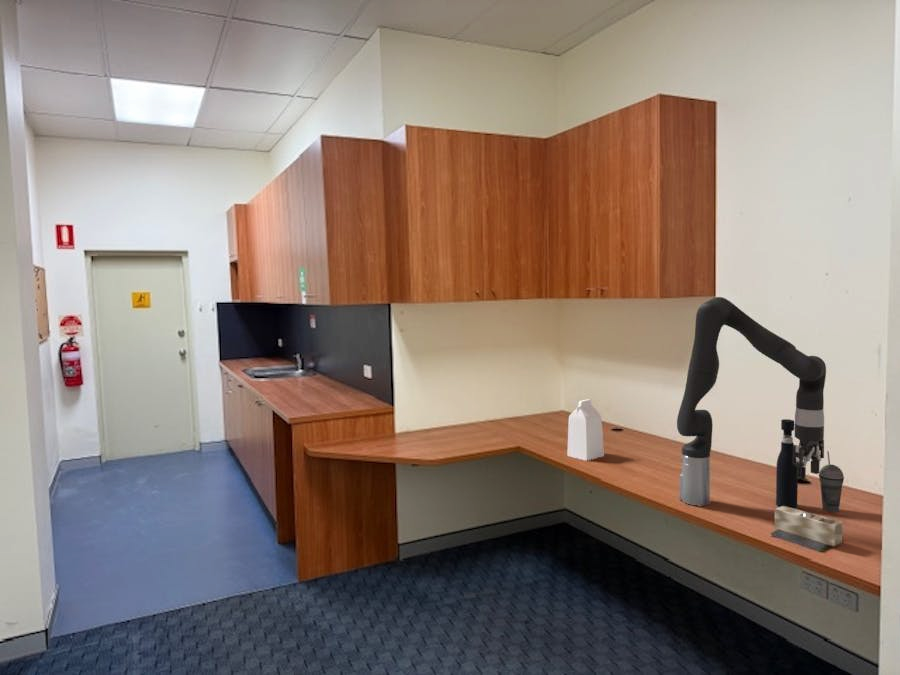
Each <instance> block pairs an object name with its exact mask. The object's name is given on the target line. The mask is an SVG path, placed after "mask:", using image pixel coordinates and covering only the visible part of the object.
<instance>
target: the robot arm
mask: <svg viewBox="0 0 900 675" xmlns="http://www.w3.org/2000/svg"><path fill="white" fill-rule="evenodd" d="M723 326H727V327H729V328H731V329H734V330H735V331H736V332H738V333H739V334H741V335H742V336H743V337H745V339H746V340H747V341H748V342H749V343H750V345H751V347H753V348H754V349H755V350H757V351H758V352H759V353H761V354H762V355H763V356H765V357H766V358H769V359H770V360H772V361H774V362H775V363H778V364H779V365H780V366H782V367H783V368H784V369H785V370H786V371H787V372H789V373H791V374H792V375H793V376H794V377H796V378H798V380H799V382H798V383H799V384H798V385H799V386H798V389H797V391H796V394H795V396H796V397H795V398H796V399H795V412H794V433H793V434H794V437H795V438H796V439H797V440H799V442H798V445H797V444H794V446H793V460H792V464H793V465H796V466H797V478H798V480H802V481H804V480H806V477H807V476H806V475H807V474H806V472H807V467H806V466H807V463H809V462H810V473H811V474H814V475H815V474H816V475H819V472H820V463H821V462H822V459H824V458H825V440H824V439H825V438H824V437H825V436H824V434H825V413H824V411H825V410H824V402H825V401H824V398H825V396H824V389H825V384H826V377H827V375H826V374H827V367H826V366H827V365H826V363H825V361H824V360H823V359H822V358H821V357H819V356H816V355H807V354H806V353H804V352H802V351H800V350H799V349H797V347H796V346H795V345H794V344H792V342H790V341H789V340H786V339H784V338H782V337H781V336H780V335H777V334H775V333H774V332H772V331H771V330H769V329H767V328H766V327H764V326H762V325H761V324H760V323H758V322H757V321H756V320H754V319H753V318H752V317H750V316H749V315H748V314H747V313H745V312H744V311H743V310H741V309H740V308H739V307H738V306H736V305H735V304H734V303H732V301H730V300H728V298H725V297H721V296H717V297H713V298H711V299H709V300H706V301H705V302H704V303H702V304H701V305H700V306H699V307H698V309H697V311H696V315H695V327H694V340H693V346H692V349H691V355H690V359H689V365H688V371H687V375H686V382H685V387H684V388H685V389H684V393H683V396H682V401H681V404H680V407H679V410H678V414H677V419H676V429H677V432H678V433H679V434H680V436H683V437H695V438H694V439H693V440H691V441H690V442H688V443H687V442H686V443H685V444H684V445H683V446H682V447H681V448H682V449H681V473H679V501H681V500H682V501H681V502H683V504H686V503H687V504H686V505H688V504H691V505H690V506H692V505H700V506H699V507H705V506H704V505H707V506H708V504H709V505H710V504H711V451H712V443H713V442H712V440H713V418H712V415H711V414H712V413H710V412H709V411H708V410H706V409H696V408H697V406H698V405H699V403H700V401H701V400H702V399H703V398H704V397H705V396H706V395H707V394H708V393H709V392H710V391H711V389H713V387H714V386H715V385H716V382H717V379H718V373H719V368H720V360H719V355H718V351H717V346H718V341H719V340H718V339H719V335H720V333H721V329H722V328H723ZM796 459H797V460H796ZM702 505H703V506H702Z"/></svg>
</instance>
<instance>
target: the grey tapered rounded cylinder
mask: <svg viewBox="0 0 900 675" xmlns="http://www.w3.org/2000/svg"><path fill="white" fill-rule="evenodd" d="M826 453H827V463H828V464H825V465H823V466H822V467H821V468H820V469H819V473H818V477H819V478H818V479H819V482H820V493H821V494H820V495H821V496H820V497H821V505H822V510H823V511H825V512H828V513H838V512H839V511H840V507H841V506H840V505H841V497H842V489H843V488H842V487H843V484H844V481H845V476H844V473H843V470H842V469H841V468H840V467H839V466H837V465H835V464H831V461H830V460H831V459H830V452H829V451H828V450H827V451H826Z"/></svg>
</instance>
